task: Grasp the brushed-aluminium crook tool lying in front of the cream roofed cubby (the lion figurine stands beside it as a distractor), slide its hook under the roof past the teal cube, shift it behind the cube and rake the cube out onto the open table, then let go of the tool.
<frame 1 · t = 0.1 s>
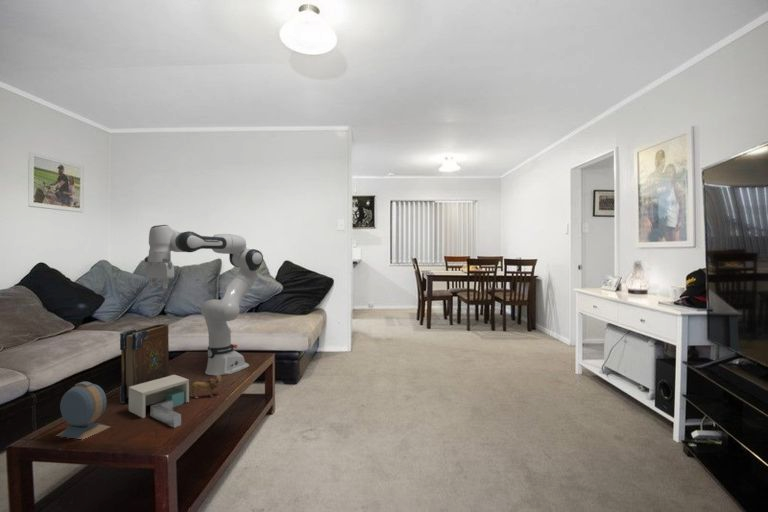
hand: (159, 287, 169), 48 cm above the table, fingers open, 8 cm apart
cubby: (159, 406, 149), on the table
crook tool: (165, 420, 136), on the table
alarm clock: (83, 432, 128), on the table
cube: (175, 404, 151), on the table
lion figurine: (205, 396, 160), on the table
decorative book: (147, 393, 164), on the table
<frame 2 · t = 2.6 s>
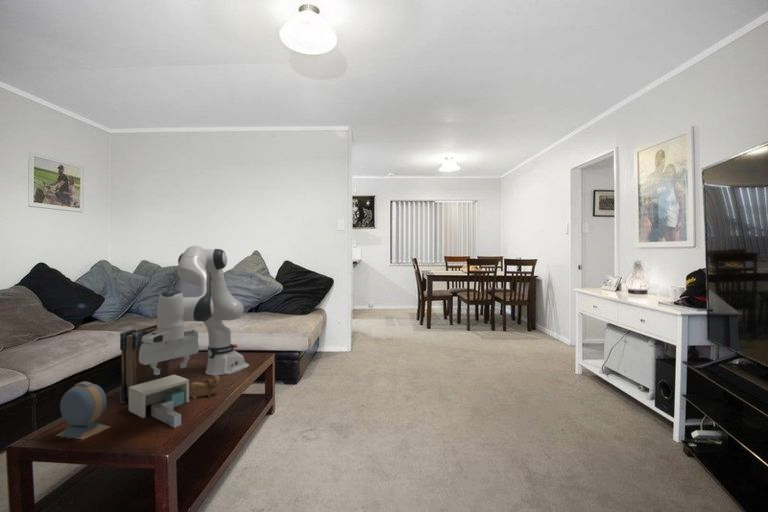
hand: (170, 370, 134), 20 cm above the table, fingers open, 8 cm apart
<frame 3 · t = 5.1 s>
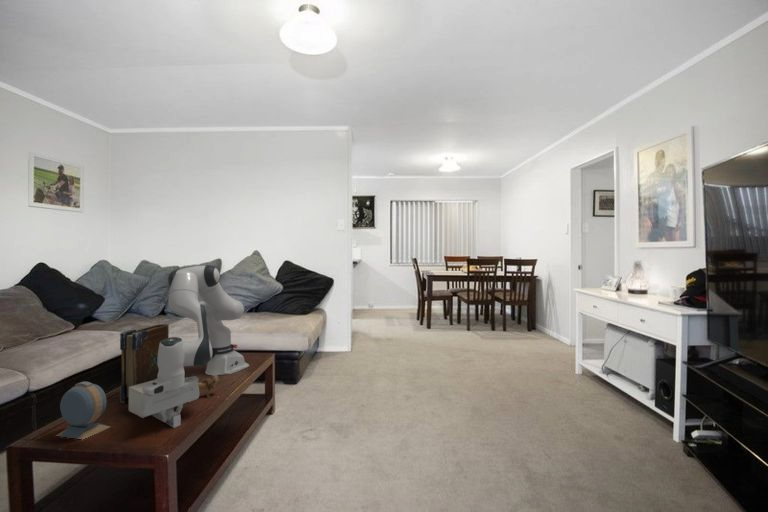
hand: (171, 418, 134), 2 cm above the table, fingers closed on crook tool, 3 cm apart
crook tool: (165, 420, 136), on the table, touching gripper
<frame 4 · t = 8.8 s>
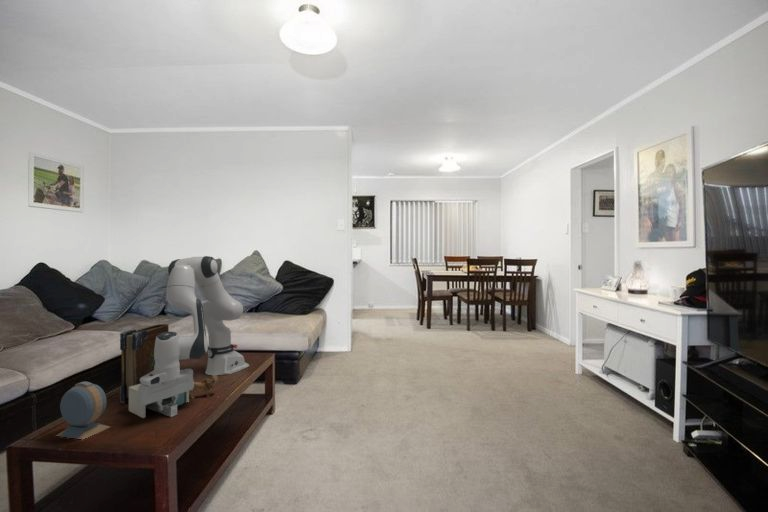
hand: (167, 408, 142), 2 cm above the table, fingers closed on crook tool, 3 cm apart
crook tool: (161, 411, 144), on the table, touching gripper
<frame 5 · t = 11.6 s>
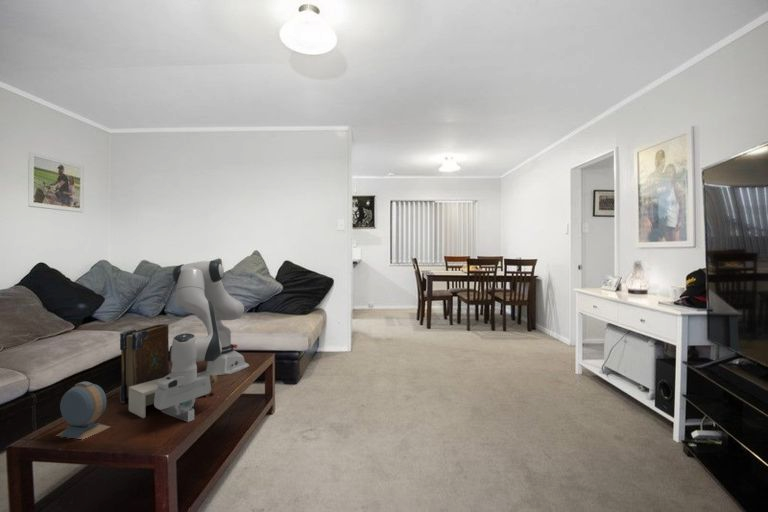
hand: (184, 412, 138), 2 cm above the table, fingers closed on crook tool, 3 cm apart
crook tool: (177, 415, 140), on the table, touching gripper
cube: (184, 408, 147), on the table
when the fingers open (2 cm above the table, at t = 12.5 s): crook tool stays where it is, on the table.
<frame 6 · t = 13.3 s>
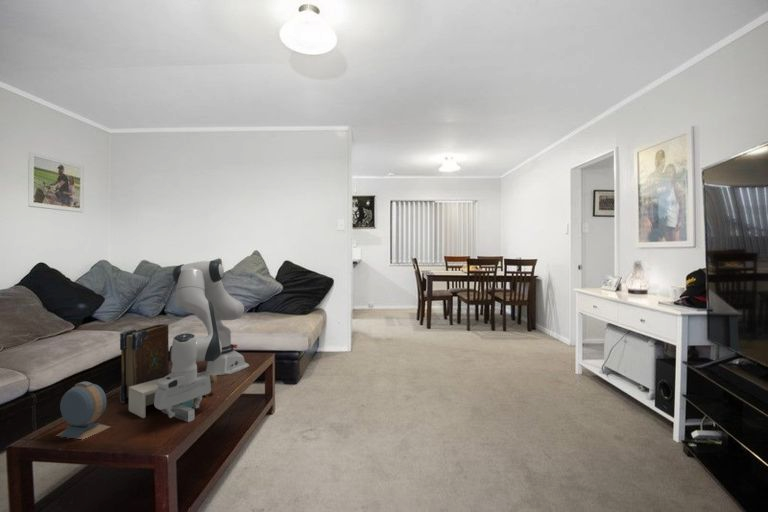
hand: (184, 412, 138), 2 cm above the table, fingers open, 8 cm apart
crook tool: (177, 415, 140), on the table
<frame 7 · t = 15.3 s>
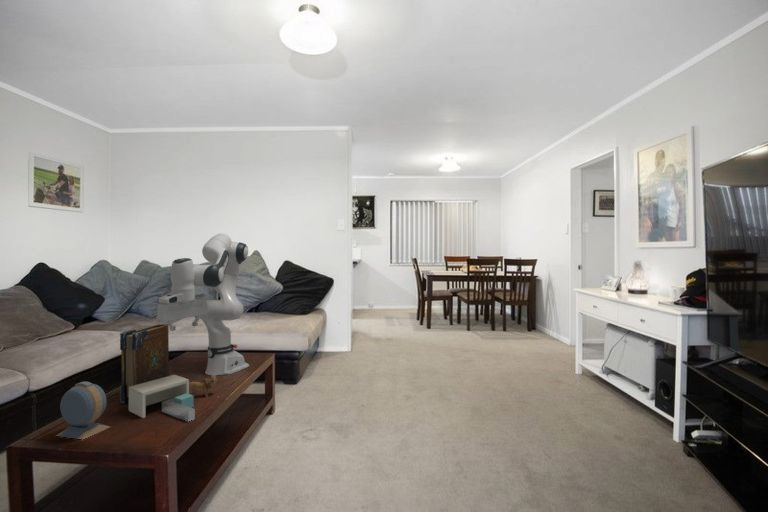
hand: (184, 328, 153), 32 cm above the table, fingers open, 8 cm apart
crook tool: (177, 415, 140), on the table, touching cube
cube: (184, 408, 147), on the table, touching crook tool
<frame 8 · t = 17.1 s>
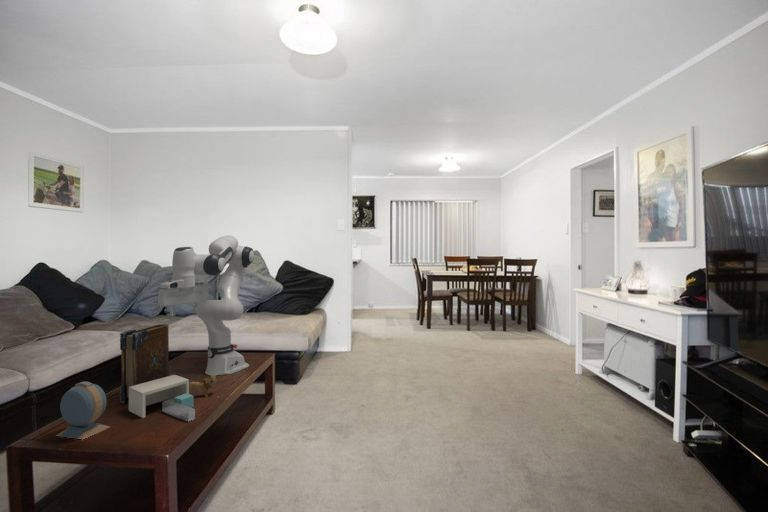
hand: (183, 314, 158), 37 cm above the table, fingers open, 8 cm apart
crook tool: (178, 415, 141), on the table
cube: (184, 408, 147), on the table
at the end: cube inside the target area (4.8 cm from its centre), on the table; cube moved 7.6 cm from its start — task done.
